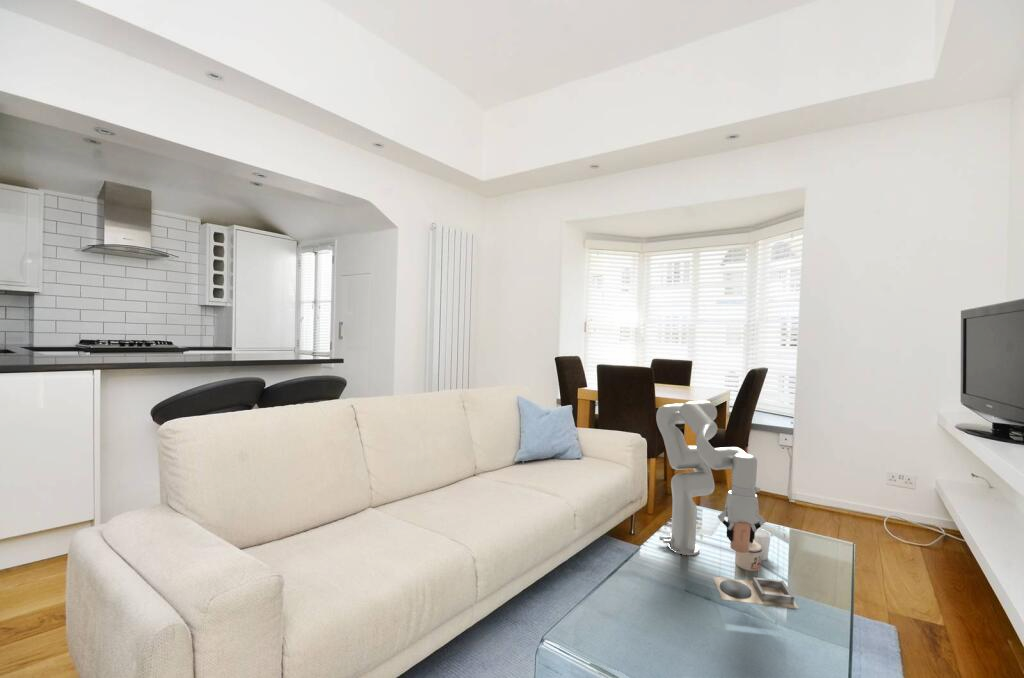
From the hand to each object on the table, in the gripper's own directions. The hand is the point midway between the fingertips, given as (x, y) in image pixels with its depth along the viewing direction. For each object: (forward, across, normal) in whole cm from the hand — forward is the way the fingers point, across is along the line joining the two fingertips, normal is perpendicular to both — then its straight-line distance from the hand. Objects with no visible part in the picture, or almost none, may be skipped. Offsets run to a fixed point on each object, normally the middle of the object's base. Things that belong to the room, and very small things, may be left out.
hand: (740, 539), depth 169 cm
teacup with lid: (+20, -10, -19) cm, 29 cm away
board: (+19, -5, +1) cm, 20 cm away
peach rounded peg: (+3, 0, 0) cm, 3 cm away
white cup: (+20, -16, -28) cm, 38 cm away
